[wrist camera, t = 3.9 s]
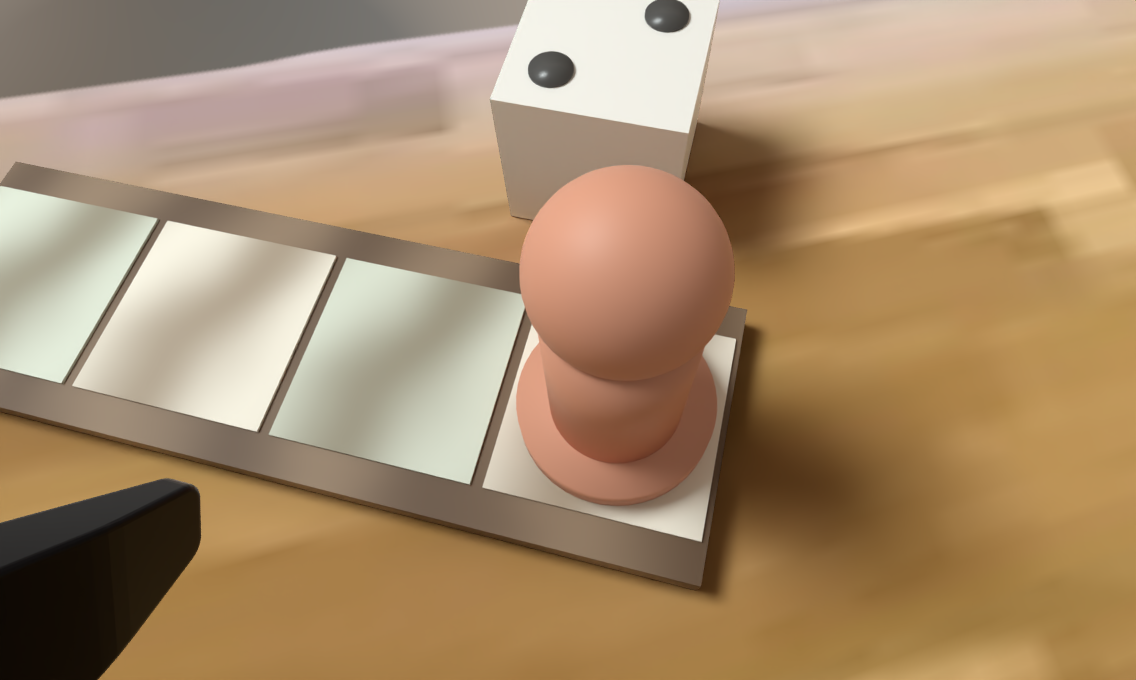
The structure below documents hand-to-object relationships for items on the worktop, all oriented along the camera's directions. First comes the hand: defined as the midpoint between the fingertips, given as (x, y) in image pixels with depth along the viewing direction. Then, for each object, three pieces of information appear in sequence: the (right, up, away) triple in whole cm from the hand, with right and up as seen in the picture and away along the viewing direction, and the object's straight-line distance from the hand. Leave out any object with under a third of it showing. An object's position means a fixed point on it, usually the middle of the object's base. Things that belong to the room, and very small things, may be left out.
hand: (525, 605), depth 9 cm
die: (+2, +10, +19) cm, 21 cm away
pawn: (+2, +1, +14) cm, 14 cm away
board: (-8, +3, +16) cm, 18 cm away
